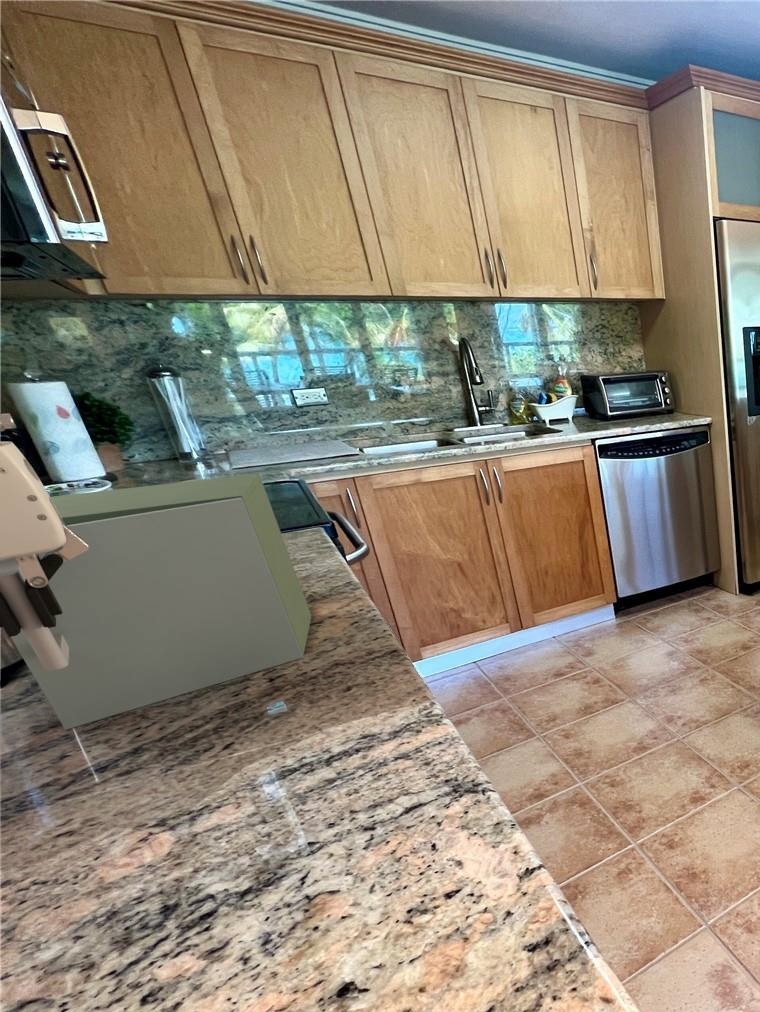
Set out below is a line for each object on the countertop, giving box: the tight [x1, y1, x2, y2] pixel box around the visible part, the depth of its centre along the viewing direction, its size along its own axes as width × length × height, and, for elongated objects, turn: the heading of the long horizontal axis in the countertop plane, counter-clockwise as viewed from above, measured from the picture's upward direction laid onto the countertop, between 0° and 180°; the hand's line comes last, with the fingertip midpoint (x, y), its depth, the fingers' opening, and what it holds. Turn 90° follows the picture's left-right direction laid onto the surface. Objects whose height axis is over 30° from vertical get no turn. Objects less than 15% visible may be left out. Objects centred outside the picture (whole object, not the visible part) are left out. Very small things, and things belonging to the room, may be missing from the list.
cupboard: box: [50, 473, 312, 656], centre depth 81 cm, size 15×22×22 cm
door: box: [0, 498, 304, 731], centre depth 70 cm, size 7×22×21 cm, turn 136°
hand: (32, 626), depth 62 cm, fingers closed on door
